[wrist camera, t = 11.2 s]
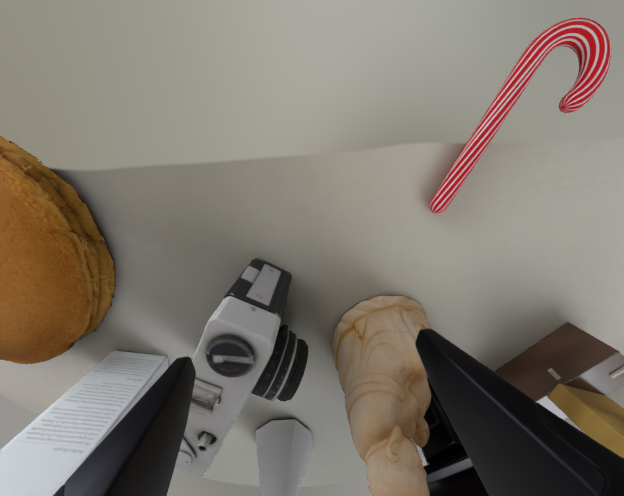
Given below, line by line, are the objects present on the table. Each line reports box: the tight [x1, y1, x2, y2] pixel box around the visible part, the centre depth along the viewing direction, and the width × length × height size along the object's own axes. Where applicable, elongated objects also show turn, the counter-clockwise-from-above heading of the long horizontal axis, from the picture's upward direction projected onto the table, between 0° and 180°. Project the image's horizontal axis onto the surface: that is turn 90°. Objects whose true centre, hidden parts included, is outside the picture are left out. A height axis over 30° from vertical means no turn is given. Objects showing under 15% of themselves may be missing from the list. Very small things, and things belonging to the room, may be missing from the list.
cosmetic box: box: [0, 351, 168, 496], centre depth 19 cm, size 6×4×12 cm
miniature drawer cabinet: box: [494, 323, 624, 419], centre depth 22 cm, size 10×9×4 cm
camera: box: [175, 258, 308, 476], centre depth 19 cm, size 14×9×10 cm, turn 146°
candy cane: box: [429, 18, 611, 213], centre depth 17 cm, size 6×15×2 cm, turn 155°
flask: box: [255, 419, 313, 496], centre depth 24 cm, size 7×7×10 cm
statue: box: [333, 295, 431, 496], centre depth 19 cm, size 12×14×10 cm
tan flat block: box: [548, 383, 624, 458], centre depth 18 cm, size 5×2×5 cm, turn 73°
